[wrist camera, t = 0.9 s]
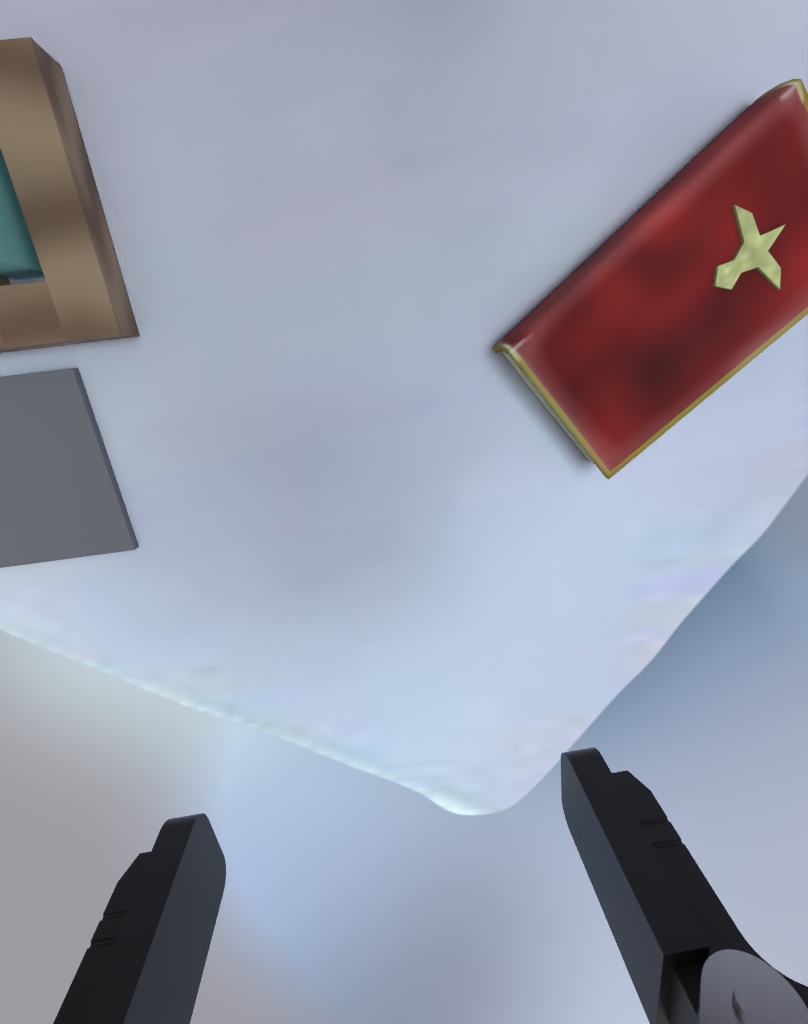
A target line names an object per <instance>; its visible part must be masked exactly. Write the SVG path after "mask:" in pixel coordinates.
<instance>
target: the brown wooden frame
mask: <svg viewBox="0 0 808 1024" xmlns="http://www.w3.org/2000/svg"><path fill="white" fill-rule="evenodd" d="M0 148H1V151H2V154H3V157H4V160H5V163H6V166H7V168H8V171H9V174H10V177H11V180H12V183H13V186H14V189H15V192H16V195H17V198H18V201H19V204H20V206H21V209H22V212H23V215H24V218H25V221H26V224H27V227H28V230H29V233H30V236H31V239H32V242H33V244H34V247H35V250H36V253H37V256H38V259H39V262H40V265H41V268H42V271H43V274H44V277H45V280H46V281H39V282H30V283H21V284H12V285H10V283H9V280H8V278H7V277H2V276H0V353H1V352H9V351H18V350H26V349H35V348H43V347H52V346H60V345H69V344H77V343H86V342H94V341H103V340H111V339H120V338H128V337H137V336H139V332H138V329H137V325H136V322H135V319H134V315H133V312H132V308H131V305H130V301H129V298H128V294H127V291H126V288H125V284H124V281H123V277H122V274H121V270H120V267H119V263H118V260H117V257H116V253H115V250H114V246H113V243H112V239H111V236H110V232H109V229H108V226H107V222H106V219H105V215H104V212H103V208H102V205H101V201H100V198H99V195H98V191H97V188H96V184H95V181H94V177H93V174H92V170H91V167H90V163H89V160H88V157H87V153H86V150H85V146H84V143H83V139H82V136H81V132H80V129H79V126H78V122H77V119H76V115H75V112H74V108H73V105H72V101H71V98H70V95H69V91H68V88H67V84H66V81H65V77H64V74H63V70H62V67H61V66H60V65H59V64H58V63H57V62H56V61H55V60H54V59H53V58H52V57H51V56H50V55H49V54H48V53H47V52H45V51H44V50H43V49H42V48H41V47H40V46H39V45H38V44H37V43H36V42H35V41H34V40H33V39H32V38H30V37H29V38H18V39H7V40H0Z"/></svg>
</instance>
